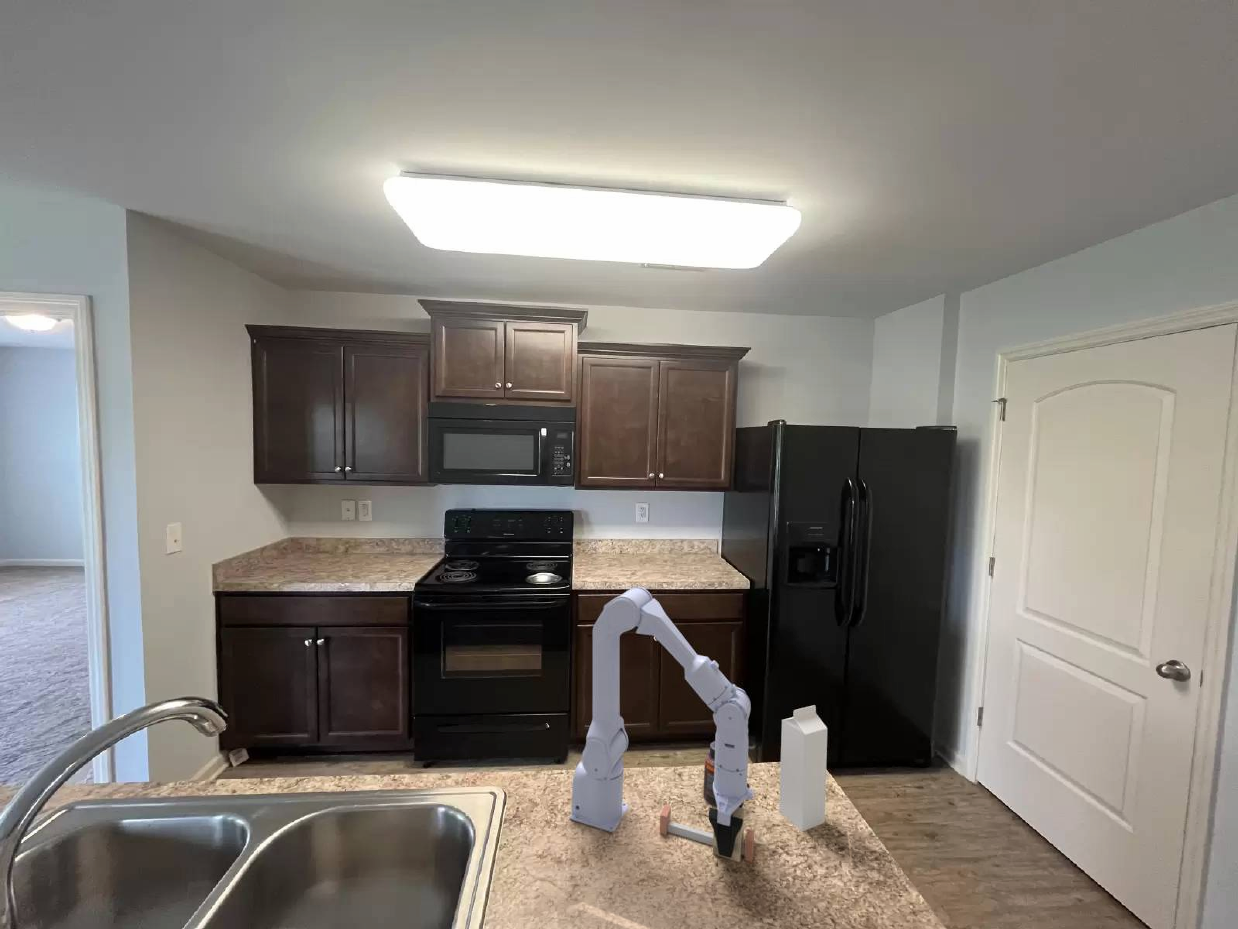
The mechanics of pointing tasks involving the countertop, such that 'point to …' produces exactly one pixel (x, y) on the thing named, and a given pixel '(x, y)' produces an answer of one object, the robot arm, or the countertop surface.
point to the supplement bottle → (709, 776)
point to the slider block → (739, 838)
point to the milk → (803, 768)
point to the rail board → (701, 833)
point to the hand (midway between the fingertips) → (728, 839)
